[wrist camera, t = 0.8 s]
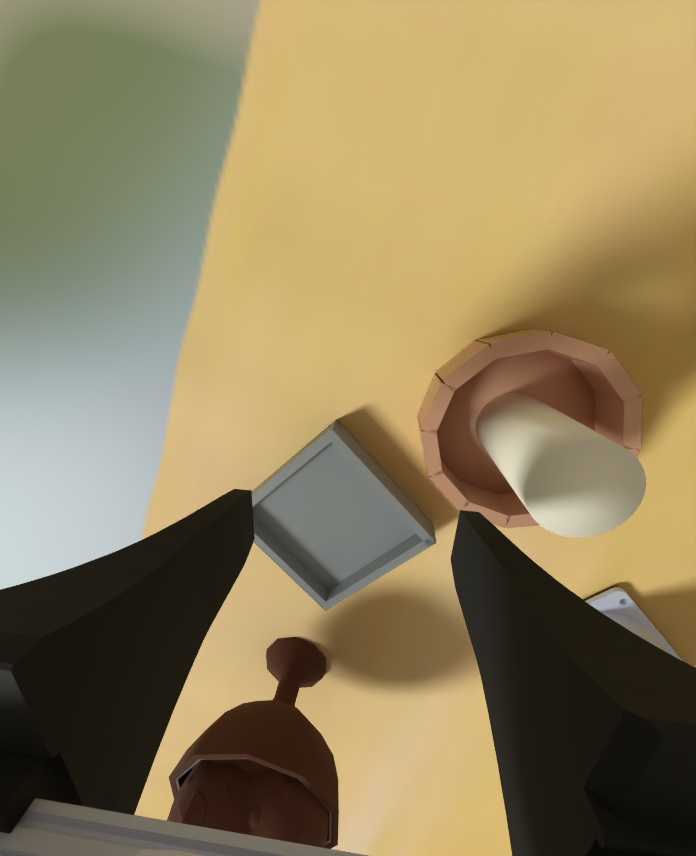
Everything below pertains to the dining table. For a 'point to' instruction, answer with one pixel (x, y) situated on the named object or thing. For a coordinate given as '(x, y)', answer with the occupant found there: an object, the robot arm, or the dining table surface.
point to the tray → (336, 518)
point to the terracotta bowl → (525, 373)
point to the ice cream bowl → (264, 763)
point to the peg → (560, 466)
